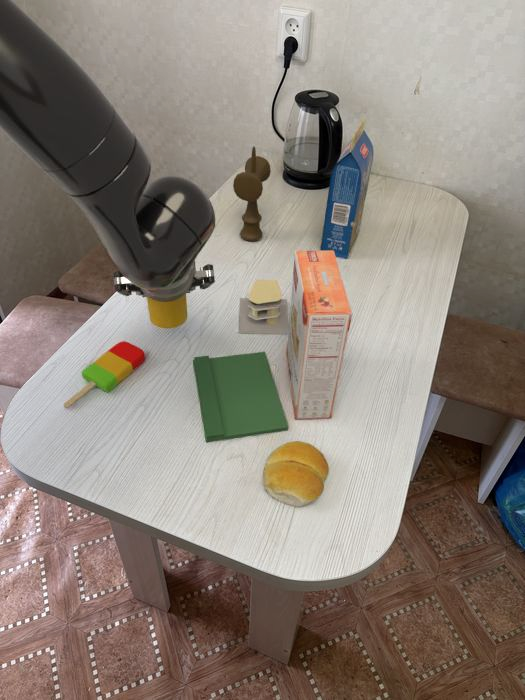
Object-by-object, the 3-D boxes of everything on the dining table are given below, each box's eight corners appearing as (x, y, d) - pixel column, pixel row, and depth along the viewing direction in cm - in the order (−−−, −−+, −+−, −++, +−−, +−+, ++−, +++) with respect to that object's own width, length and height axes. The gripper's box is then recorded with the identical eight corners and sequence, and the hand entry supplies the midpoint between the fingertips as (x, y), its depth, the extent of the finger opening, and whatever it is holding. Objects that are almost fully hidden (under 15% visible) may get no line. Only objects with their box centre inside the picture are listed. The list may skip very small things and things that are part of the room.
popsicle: (149, 359, 83) (147, 350, 81) (79, 419, 73) (76, 410, 72) (124, 346, 85) (122, 337, 84) (53, 402, 75) (50, 394, 74)
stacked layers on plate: (239, 298, 95) (240, 274, 92) (287, 299, 96) (289, 275, 92) (238, 333, 88) (238, 308, 84) (289, 334, 89) (292, 310, 85)
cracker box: (283, 355, 85) (293, 248, 70) (318, 354, 85) (336, 248, 71) (291, 421, 75) (305, 312, 60) (331, 420, 75) (355, 311, 61)
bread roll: (332, 459, 70) (336, 442, 67) (315, 515, 64) (319, 499, 61) (275, 442, 72) (277, 424, 69) (254, 494, 66) (255, 478, 63)
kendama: (232, 246, 108) (232, 154, 95) (243, 224, 115) (245, 135, 101) (259, 250, 108) (263, 158, 94) (269, 228, 115) (274, 139, 101)
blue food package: (359, 232, 115) (382, 118, 98) (347, 259, 107) (370, 140, 89) (332, 226, 116) (350, 113, 99) (319, 252, 108) (335, 134, 91)
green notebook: (206, 442, 71) (205, 436, 70) (193, 363, 83) (192, 357, 82) (288, 430, 73) (288, 424, 73) (264, 354, 85) (265, 348, 84)
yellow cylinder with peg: (150, 330, 78) (143, 279, 72) (148, 306, 83) (142, 256, 76) (189, 326, 79) (186, 276, 73) (185, 303, 84) (182, 253, 77)
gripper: (218, 234, 64) (208, 261, 81) (101, 241, 61) (115, 268, 78) (224, 292, 64) (213, 308, 81) (107, 303, 61) (121, 316, 78)
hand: (165, 288), depth 79 cm, fingers closed on yellow cylinder with peg, 6 cm apart
